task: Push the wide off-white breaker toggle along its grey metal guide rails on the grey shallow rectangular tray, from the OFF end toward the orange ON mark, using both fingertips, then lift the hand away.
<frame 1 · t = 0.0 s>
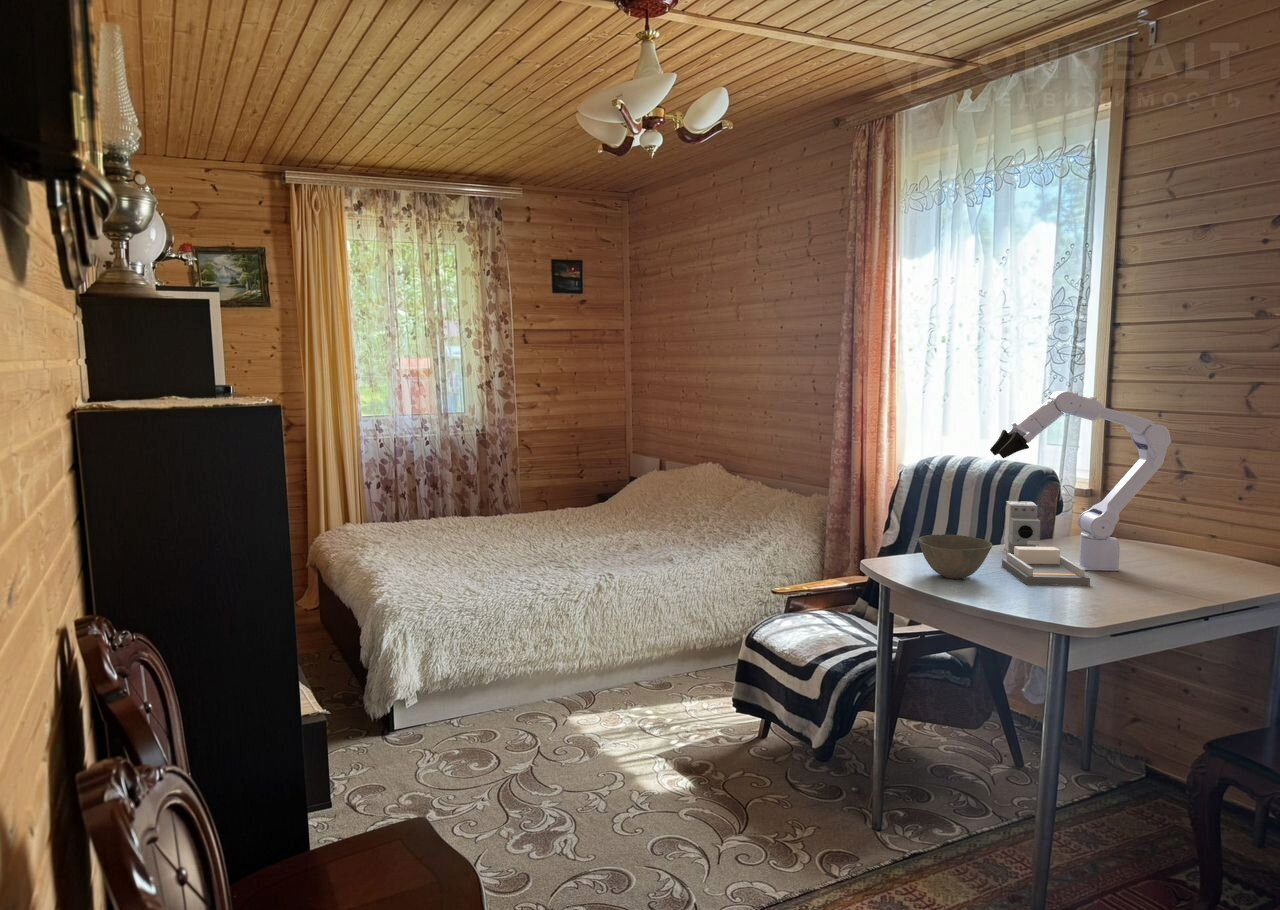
hand: (996, 454, 237), 32 cm above the table, tool tilted 50°, fingers open, 7 cm apart
circuit breaker: (1021, 554, 256), on the table
grey shallow rectangular tray: (1043, 575, 229), on the table
bowl: (953, 577, 228), on the table
breaker toggle: (1036, 555, 235), point 4 cm above the table, slide at 0.0 cm
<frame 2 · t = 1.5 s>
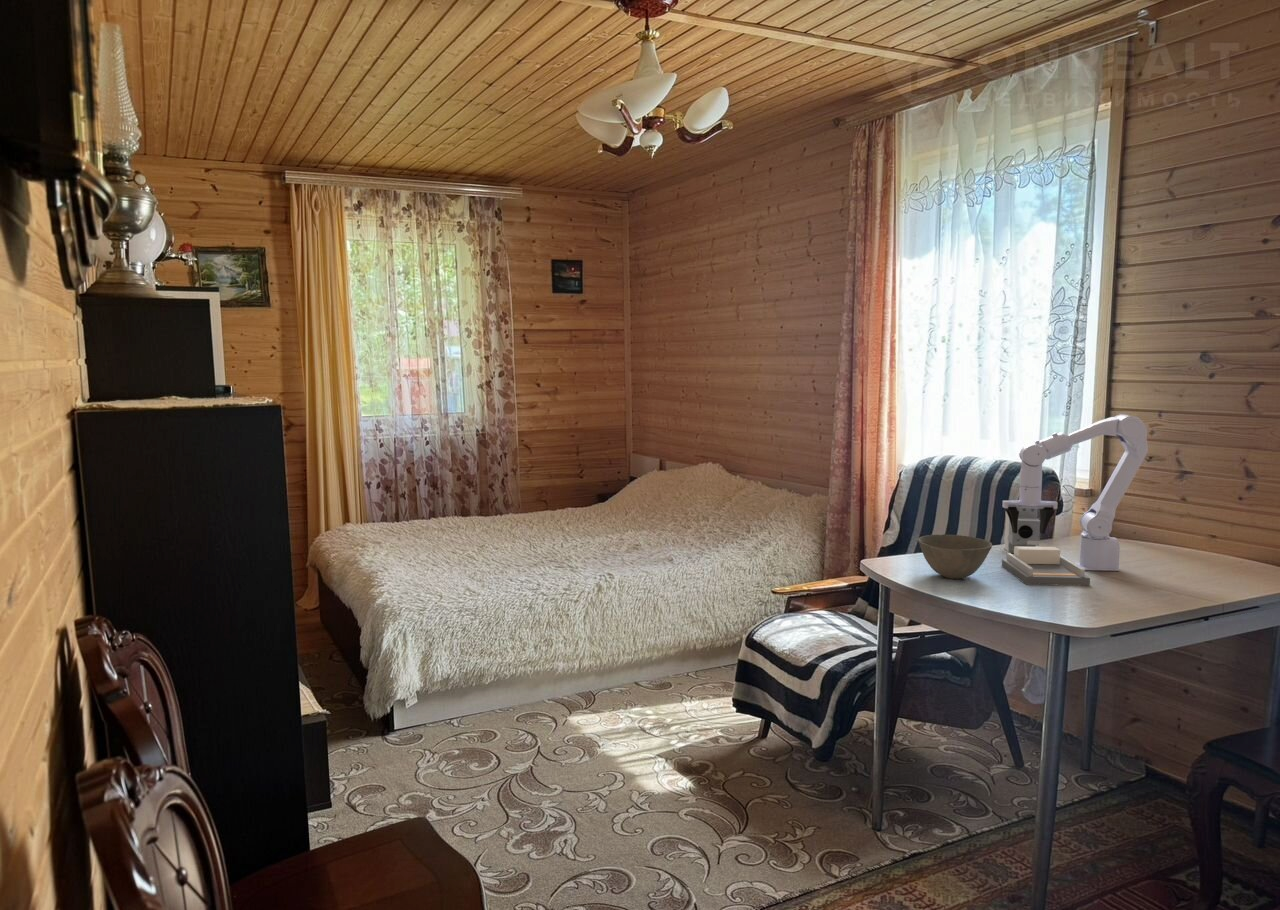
hand: (1028, 533, 241), 9 cm above the table, tool pointing down, fingers open, 7 cm apart
nothing on the table moved.
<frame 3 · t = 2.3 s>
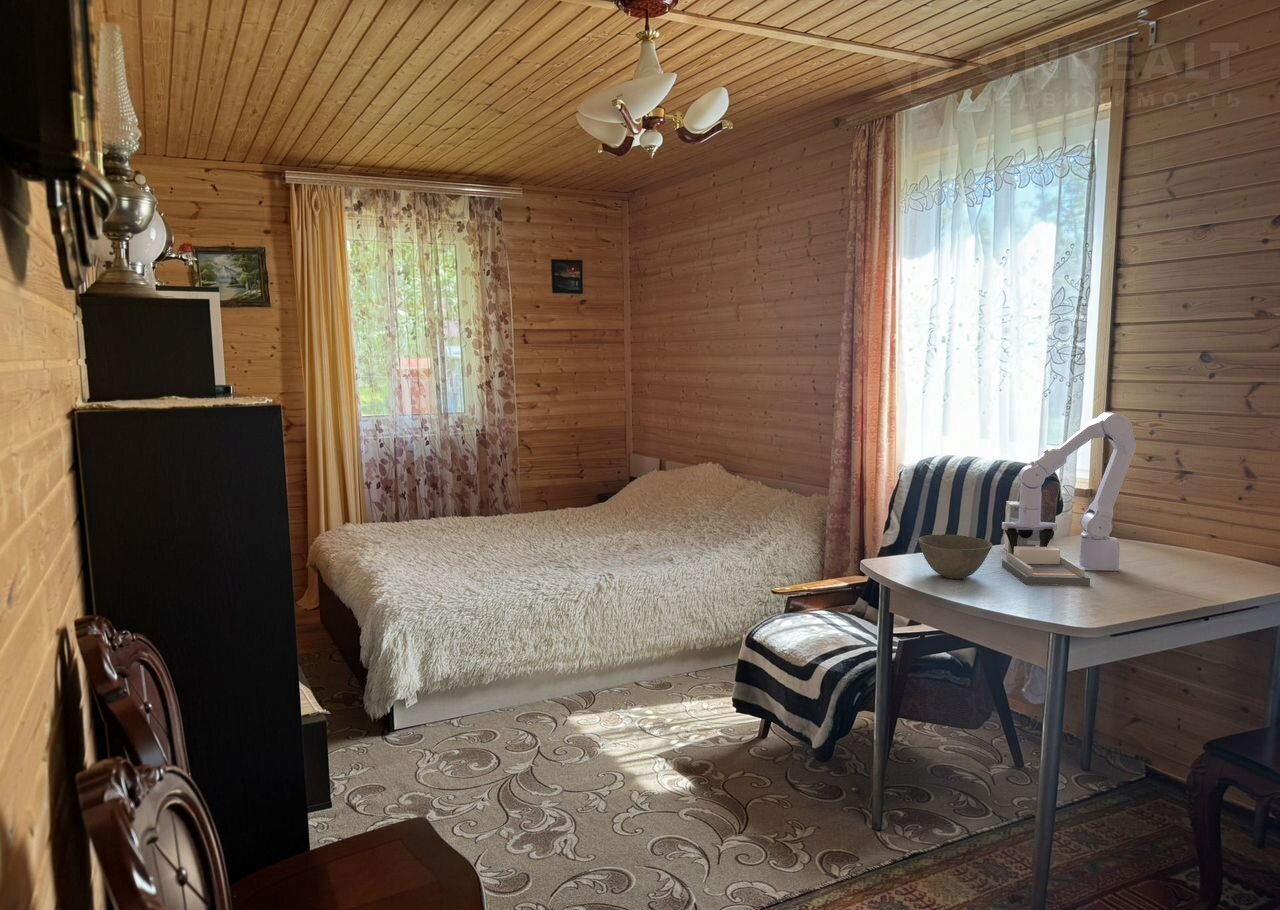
hand: (1027, 554, 242), 3 cm above the table, tool pointing down, fingers open, 7 cm apart
nothing on the table moved.
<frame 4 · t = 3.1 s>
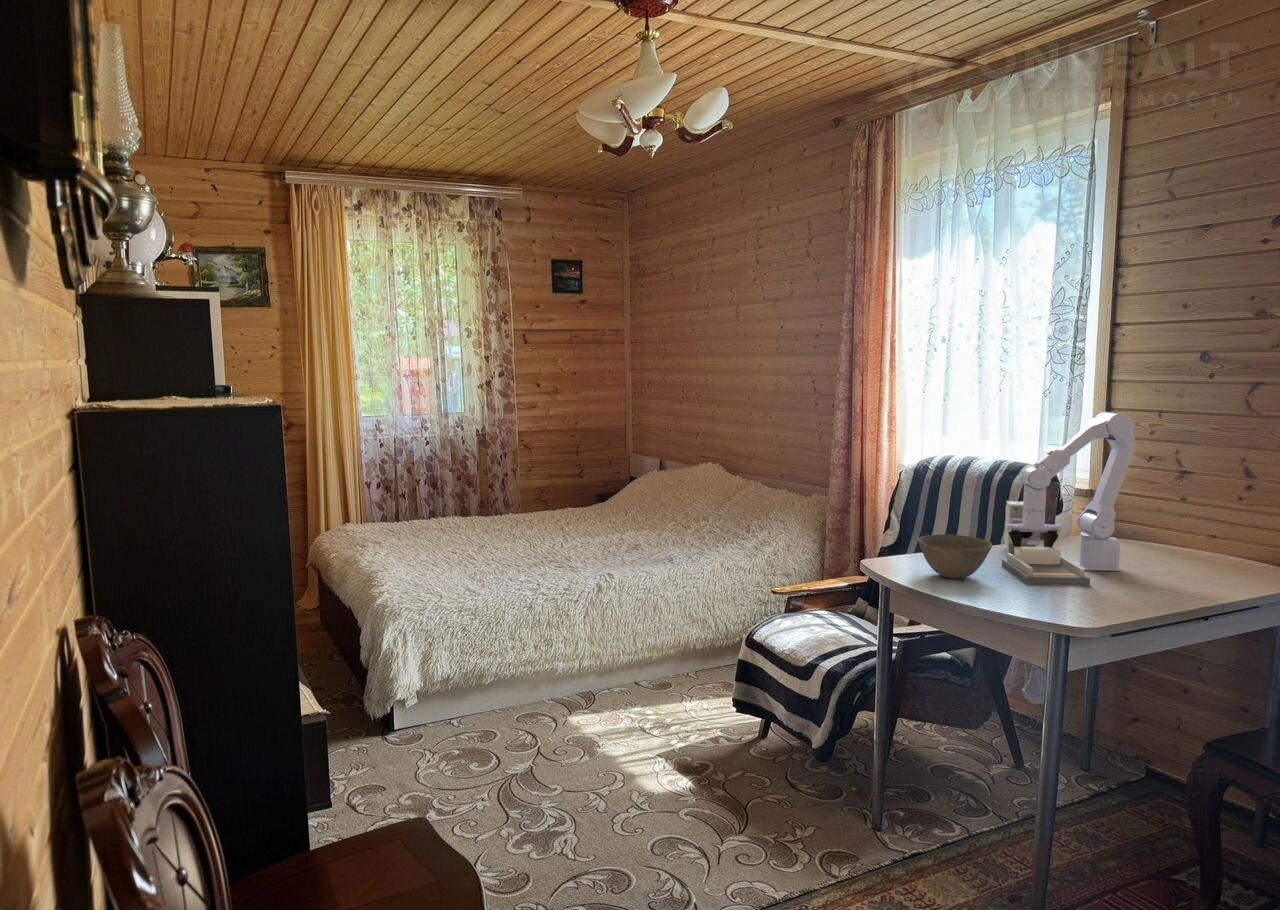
hand: (1031, 556, 238), 3 cm above the table, tool pointing down, fingers open, 7 cm apart
breaker toggle: (1037, 555, 234), point 4 cm above the table, slide at 0.4 cm, touching gripper
everything else where it was.
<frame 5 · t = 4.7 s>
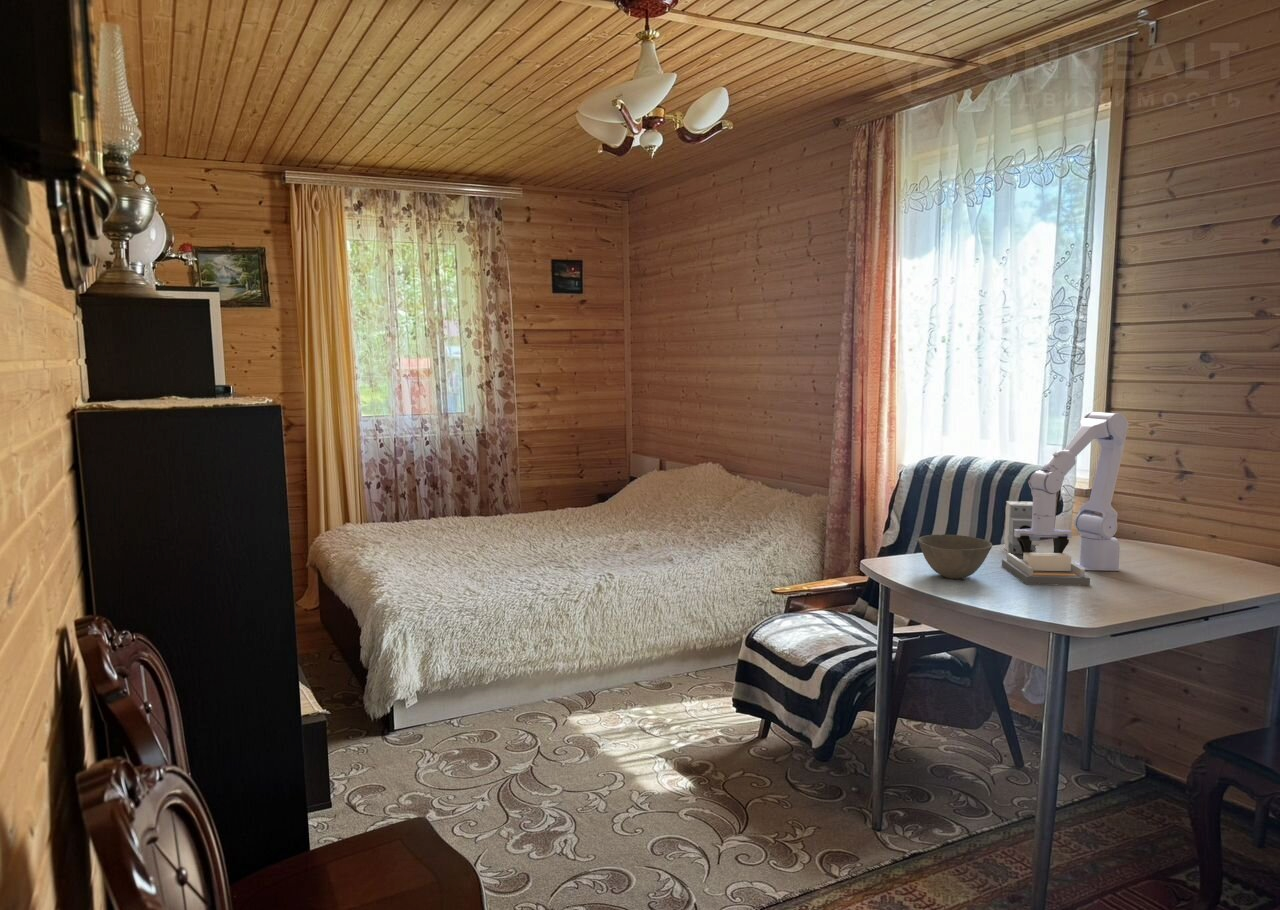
hand: (1041, 563, 231), 3 cm above the table, tool pointing down
breaker toggle: (1046, 561, 227), point 4 cm above the table, slide at 7.8 cm, touching gripper
everything else where it was.
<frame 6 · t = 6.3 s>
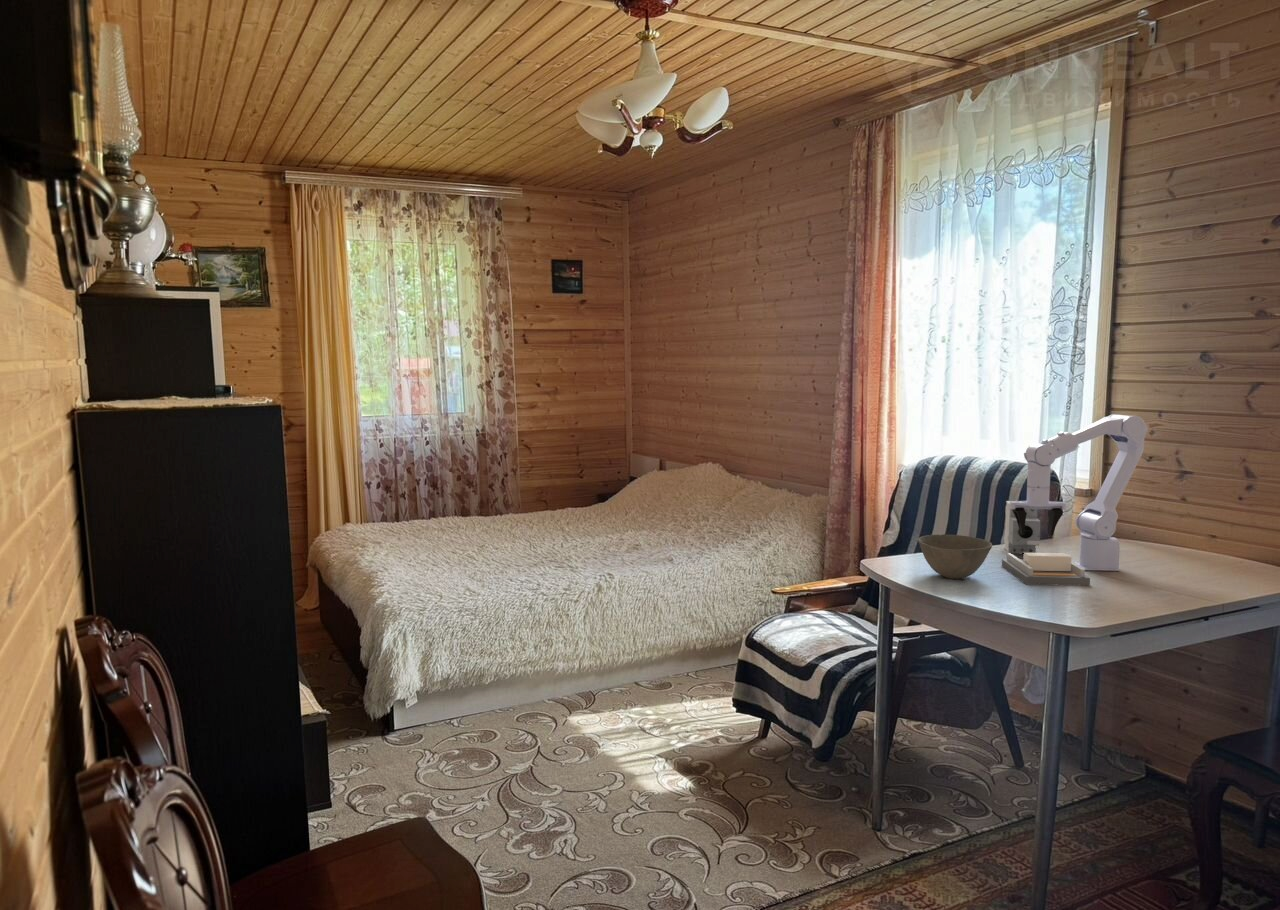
hand: (1036, 534, 235), 10 cm above the table, tool pointing down, fingers open, 7 cm apart
breaker toggle: (1046, 561, 227), point 4 cm above the table, slide at 7.9 cm
everything else where it was.
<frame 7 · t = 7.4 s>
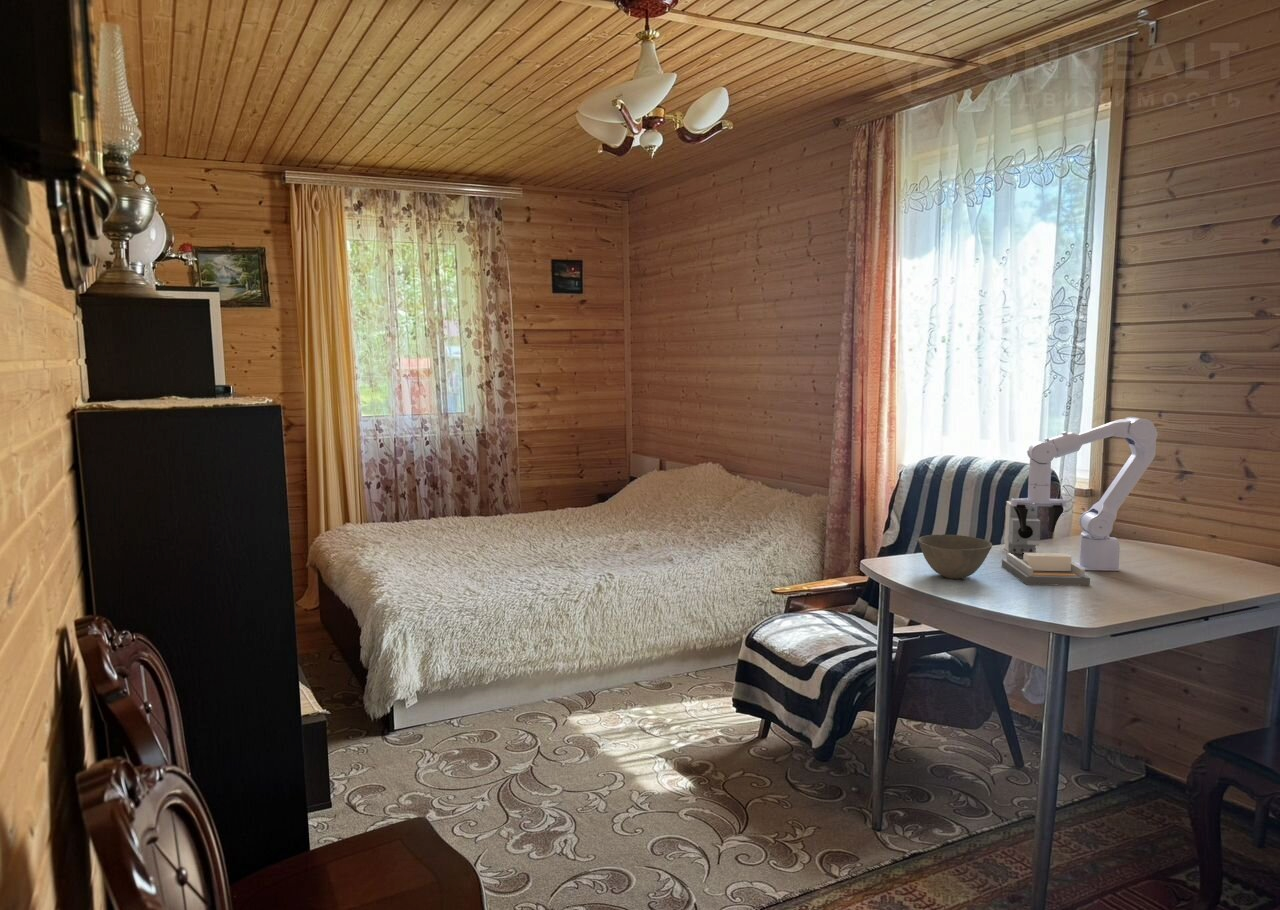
hand: (1037, 531, 240), 10 cm above the table, tool pointing down, fingers open, 7 cm apart
nothing on the table moved.
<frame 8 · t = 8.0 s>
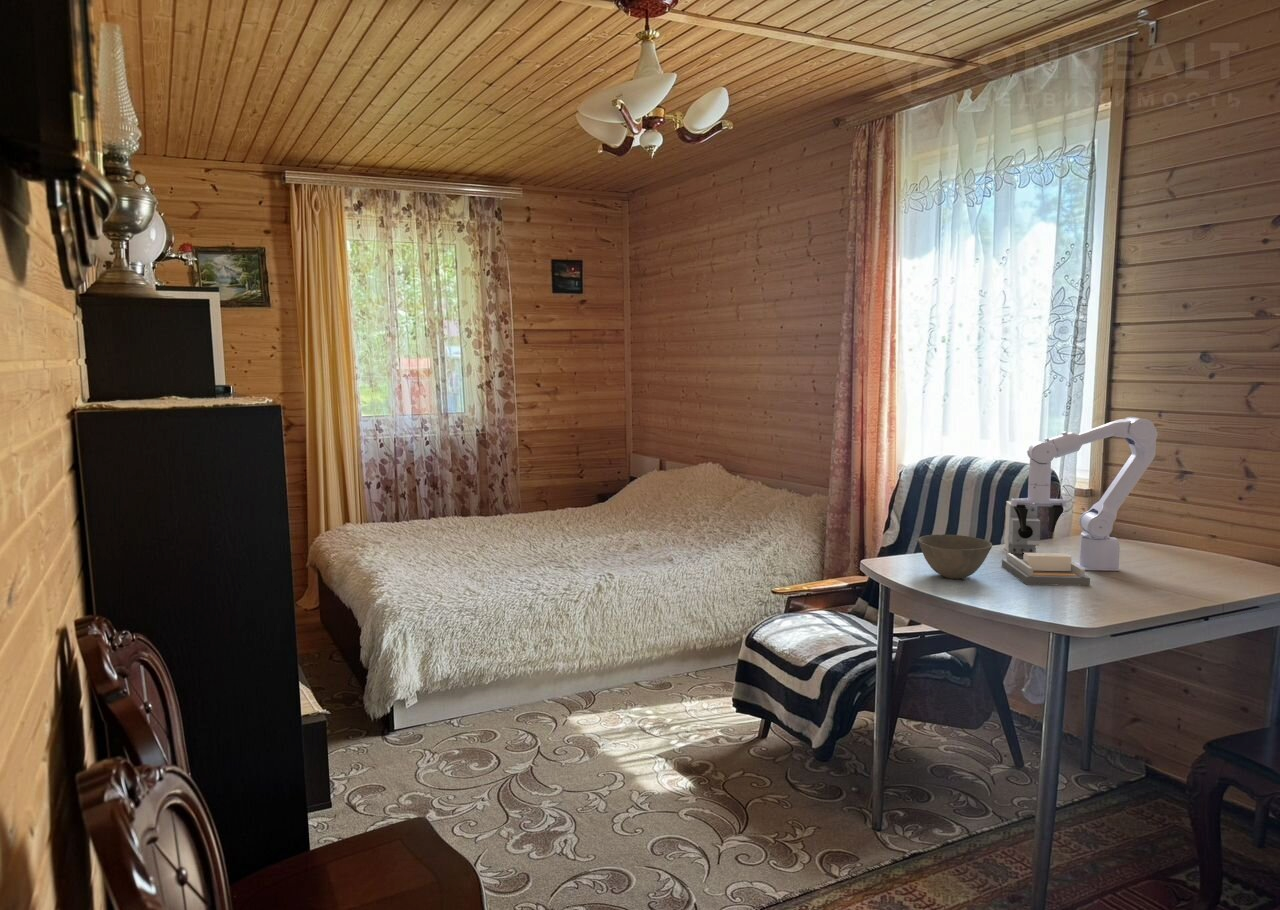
hand: (1037, 531, 240), 10 cm above the table, tool pointing down, fingers open, 7 cm apart
nothing on the table moved.
at the end: breaker toggle slide at 7.9 cm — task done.
